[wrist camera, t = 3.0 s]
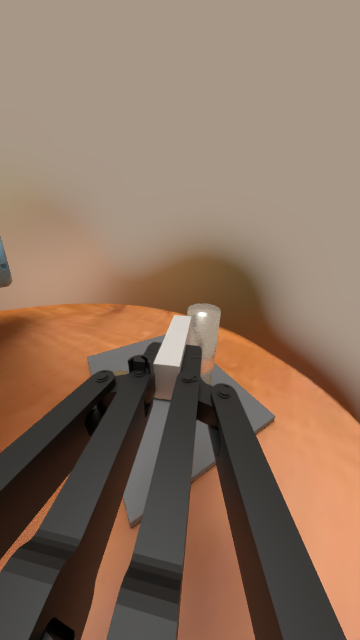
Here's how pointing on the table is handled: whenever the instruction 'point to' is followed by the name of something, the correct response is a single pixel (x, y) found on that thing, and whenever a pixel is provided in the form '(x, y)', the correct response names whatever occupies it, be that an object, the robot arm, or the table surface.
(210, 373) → the tuning peg
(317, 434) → the table surface
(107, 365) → the dial board
